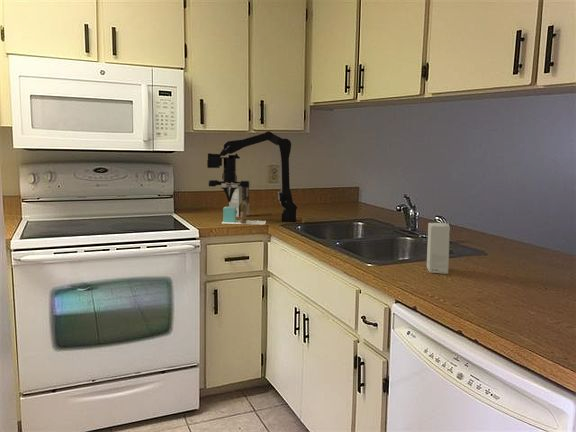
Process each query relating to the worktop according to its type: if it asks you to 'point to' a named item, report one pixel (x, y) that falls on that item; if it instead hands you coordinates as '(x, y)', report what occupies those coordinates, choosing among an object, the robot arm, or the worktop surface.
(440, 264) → the skincare box
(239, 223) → the board
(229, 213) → the light blue block
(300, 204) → the worktop surface
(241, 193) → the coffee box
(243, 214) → the walnut dowel
